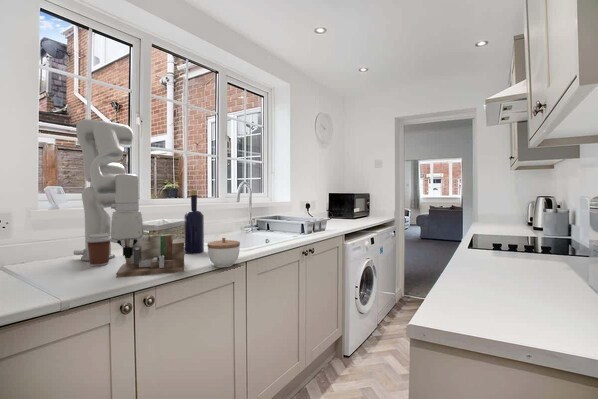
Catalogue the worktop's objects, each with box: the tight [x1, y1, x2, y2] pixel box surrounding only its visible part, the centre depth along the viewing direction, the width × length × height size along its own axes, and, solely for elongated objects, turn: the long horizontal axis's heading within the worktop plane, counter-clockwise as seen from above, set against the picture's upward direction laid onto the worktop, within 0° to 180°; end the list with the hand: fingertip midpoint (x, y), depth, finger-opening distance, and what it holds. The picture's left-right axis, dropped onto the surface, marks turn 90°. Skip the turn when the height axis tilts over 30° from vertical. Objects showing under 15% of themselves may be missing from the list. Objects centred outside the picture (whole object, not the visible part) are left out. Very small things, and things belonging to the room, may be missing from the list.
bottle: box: [183, 189, 205, 255], centre depth 153 cm, size 9×9×30 cm
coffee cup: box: [84, 234, 111, 267], centre depth 129 cm, size 9×9×12 cm
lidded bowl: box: [207, 237, 241, 268], centre depth 127 cm, size 13×13×11 cm
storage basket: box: [143, 218, 185, 247], centre depth 158 cm, size 24×16×15 cm
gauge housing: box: [115, 234, 185, 278], centre depth 120 cm, size 22×15×12 cm
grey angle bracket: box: [133, 246, 158, 268], centre depth 118 cm, size 8×11×7 cm
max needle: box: [159, 241, 164, 268], centre depth 116 cm, size 2×1×10 cm
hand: (127, 257), depth 117 cm, fingers closed
